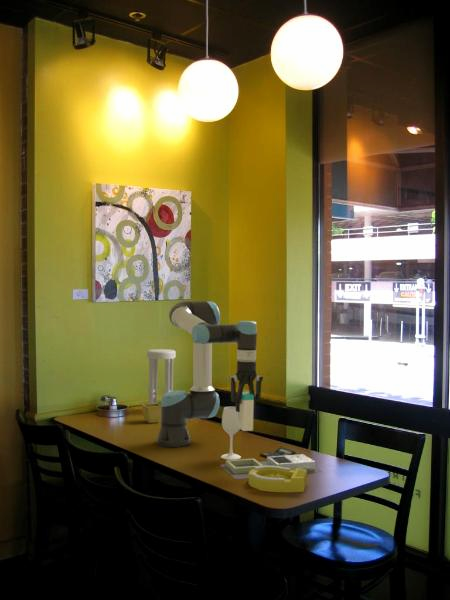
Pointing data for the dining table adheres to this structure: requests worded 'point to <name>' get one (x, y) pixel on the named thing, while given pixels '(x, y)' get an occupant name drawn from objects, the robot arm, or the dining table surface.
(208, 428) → the dining table surface
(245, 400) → the cream green box
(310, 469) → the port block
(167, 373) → the stool
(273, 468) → the ashtray
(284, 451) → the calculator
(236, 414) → the wineglass
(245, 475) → the mat
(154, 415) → the flower pot
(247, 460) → the grey square tray
